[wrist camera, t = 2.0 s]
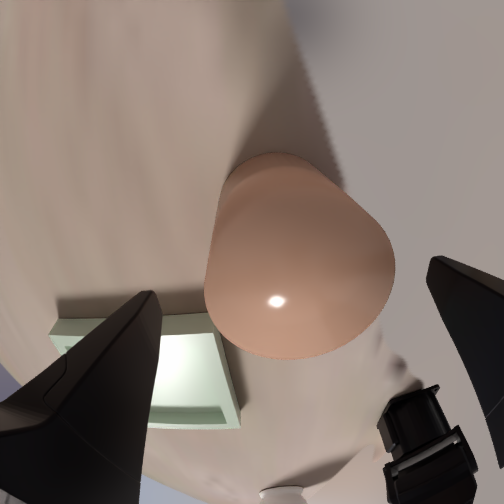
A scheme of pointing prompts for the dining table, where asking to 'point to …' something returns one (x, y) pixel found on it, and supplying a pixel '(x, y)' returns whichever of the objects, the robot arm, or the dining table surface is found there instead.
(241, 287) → the pink rounded cylinder
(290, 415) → the dining table surface
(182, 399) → the tray
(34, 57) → the dining table surface
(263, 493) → the jar
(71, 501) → the robot arm
